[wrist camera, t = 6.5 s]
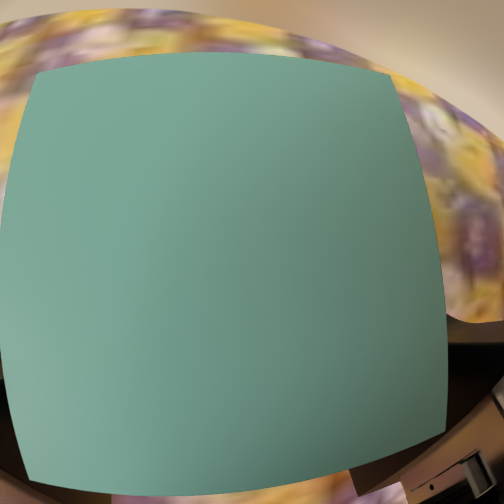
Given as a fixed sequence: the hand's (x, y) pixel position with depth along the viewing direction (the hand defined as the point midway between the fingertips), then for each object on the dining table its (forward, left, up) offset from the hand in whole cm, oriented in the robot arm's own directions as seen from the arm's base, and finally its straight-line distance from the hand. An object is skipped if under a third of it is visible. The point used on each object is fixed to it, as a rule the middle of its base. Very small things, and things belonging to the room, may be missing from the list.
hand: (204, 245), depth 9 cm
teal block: (-1, +1, -7) cm, 7 cm away
